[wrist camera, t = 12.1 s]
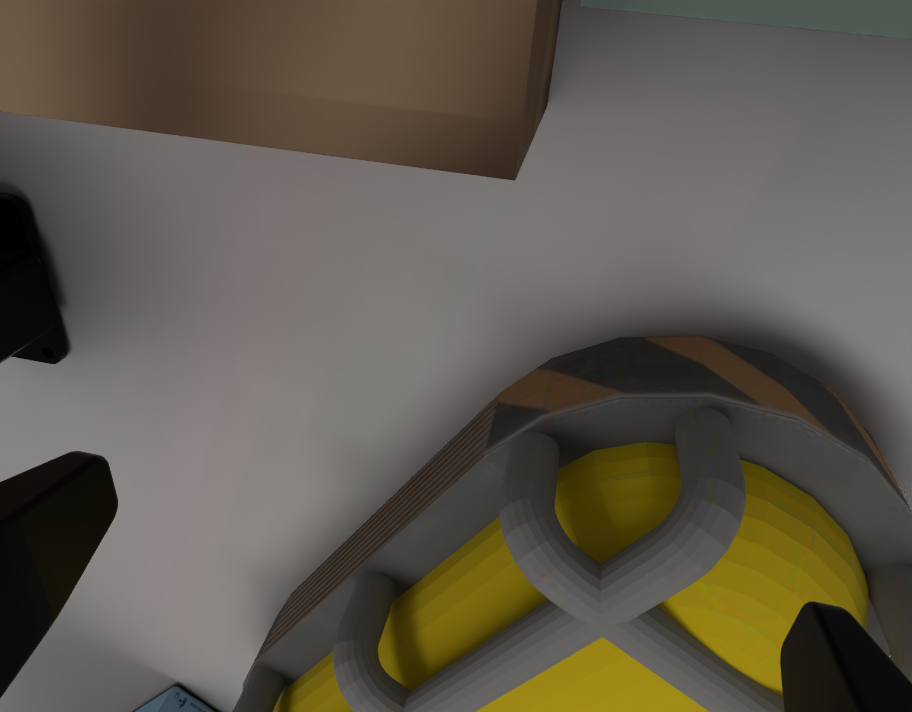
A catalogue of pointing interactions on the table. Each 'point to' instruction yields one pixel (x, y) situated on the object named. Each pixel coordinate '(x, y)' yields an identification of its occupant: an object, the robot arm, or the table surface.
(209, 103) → the brown open lidded box
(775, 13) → the tray
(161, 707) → the gum box
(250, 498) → the table surface
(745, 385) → the cage light
